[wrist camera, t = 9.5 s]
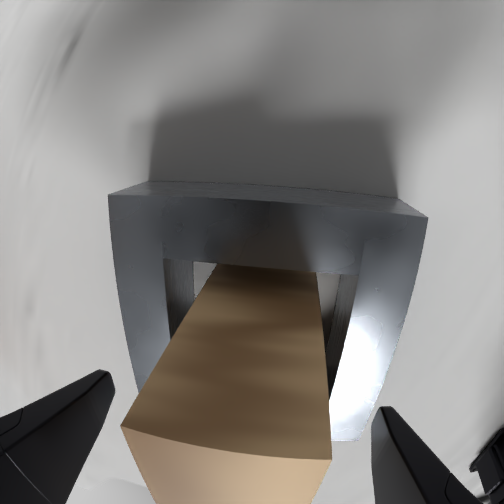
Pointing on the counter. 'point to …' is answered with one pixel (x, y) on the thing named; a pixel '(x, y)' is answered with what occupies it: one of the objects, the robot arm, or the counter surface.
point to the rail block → (271, 256)
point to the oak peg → (238, 395)
